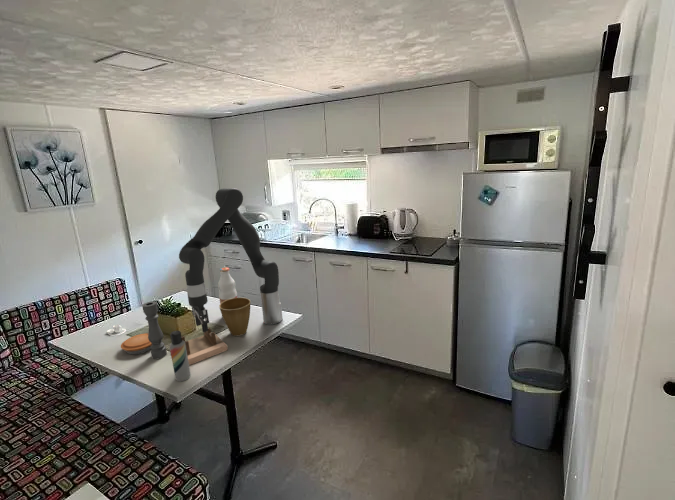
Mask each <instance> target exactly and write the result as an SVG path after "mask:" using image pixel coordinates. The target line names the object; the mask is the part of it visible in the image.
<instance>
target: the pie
mask: <svg viewBox="0 0 675 500" xmlns="http://www.w3.org/2000/svg"><path fill="white" fill-rule="evenodd" d="M151 346H152V344H151V342H150V341H149V339H148V332H147V333H145V332H144V333H140V334H136V335H133V336H131V337H129V338H127V339H125V340H124V341H123V342H122V343H121V344H120V348H121V350H123V351H125V352H126V353H127V354H129V355H139V354H143V353H146V352H148V351H151Z"/></svg>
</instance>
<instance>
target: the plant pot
mask: <svg viewBox="0 0 675 500" xmlns="http://www.w3.org/2000/svg"><path fill="white" fill-rule="evenodd" d="M218 308H219V311H220V313H221V317H222V316H223V318H222V319H223V321H224V324H225V325H226V327H227V329H228V331H229V333H230V334H231V335H232V336H234V337H238V336H240V337H241V336H243V335H245V334H246V333H247V332H248V327H249V321H250V316H251V299H249V298H247V297H237V298H232V299H228V300H226V301H224V302H222V303H221V304H220V303H219V306H218Z"/></svg>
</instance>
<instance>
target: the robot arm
mask: <svg viewBox="0 0 675 500" xmlns="http://www.w3.org/2000/svg"><path fill="white" fill-rule="evenodd" d="M243 200H244V195H243V192H242V191H241V190H240V189H238V188H235V187H233V188H232V187H228V188H227V187H226V188H225V187H224V188H219V189H218V190H217V191H216V192H215V201H216V204H217V206H218V208H219V209H218V210H217V211H216V212H215V213H214V214H212V215H211V216H210V217H209V218H208V219H207V220H205V221H204V222H203V223H202V224H201V225H200V227H199V228H198V230H197V231H196V232H195V235H193V237H191V238H190V239H189V240H188V241H187V242H186V243H185V244H184V245H183V246H182V247H181V249H180V251H179V254H178V258H179V261H180V262H181V263H183V264H187V265H189V269H188V270H186V271H185V274H184V275H185V276H184V277H185V283H186V293H187V299H188V300H187V301H188V305H189V306H190V307H191V312H192V316H193V317H194V320H195V321H194V322H195V325H196V326H197V327H198V326H201V329H202V332H203V333H204V332H207V331H208V328H209V326H208V324H209V323H210V320H209V313H208V309H206V307H205V305H207V303H208V301H209V300H208V294H207V293H208V292H207V288H206V284H205V277H204V269H205V254H204V251H202V249H205V248H207V247H209V246H210V245H211V243H212V242H213V240H214V238H215V237H216V236H217V234H218V233H219V231H220V230H221V228H222V227H223V226H224V224H226V222H227V221H228V222H229V224H230V225H231V228H232V229H233V231H234V233H235V235H236V237H237V238H238V241H239V242H240V244H241V246H242V247H243V249H244V251H245V254H246V256H247V257H248V259H249V261H250V264H251V266H252V269H253V271H254V273H255V275H256V276H258V277H259V278H262V279H264V283H263V284H261V285H260V287H259V295H260V300H261V310H262V319H263V323H264V324H265V325H269V326H270V325H276V324H279V323H281V322H282V321H283V310H282V303H281V302H280V295H279V284H280V277H279V275H280V274H279V273H280V272H279V267H278V265H277V263H276V262H274V261H269V260H266V259H265V258H264V256H263V254H262V252H261V250H260V249H261V248H260V247H261V246H260V245H261V239H260V236H259V233H258V231H257V230H256V228H255V226H254V224H252V222H250V221H249V219H247V218H246V216H244V215H243V214H242V213H241V211H240V210H239V208H240V206H241V205H242V204H243Z"/></svg>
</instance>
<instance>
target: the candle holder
mask: <svg viewBox="0 0 675 500" xmlns="http://www.w3.org/2000/svg"><path fill="white" fill-rule="evenodd" d="M141 306H142V311H143V313H144V315H145V316H146V317H145V320H146V321H147V324H148V325H147V326H148V331H147V333H148V339H149V341H150V342H151V344H152V346H151V349H150V355H151V358H152V359H154V360H159V359H163V358H164V357H166V356H167V355H168V353H167V347H166V345H165V343H164V342H163V338H164V333H163V331H162V329H161V326H160V324H159V321H158V318H159V317H160V316H159V314H157V313H158V310H159V309H158V303H157V302H156V301H147V302H144V303H143V304H142V305H141Z"/></svg>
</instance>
